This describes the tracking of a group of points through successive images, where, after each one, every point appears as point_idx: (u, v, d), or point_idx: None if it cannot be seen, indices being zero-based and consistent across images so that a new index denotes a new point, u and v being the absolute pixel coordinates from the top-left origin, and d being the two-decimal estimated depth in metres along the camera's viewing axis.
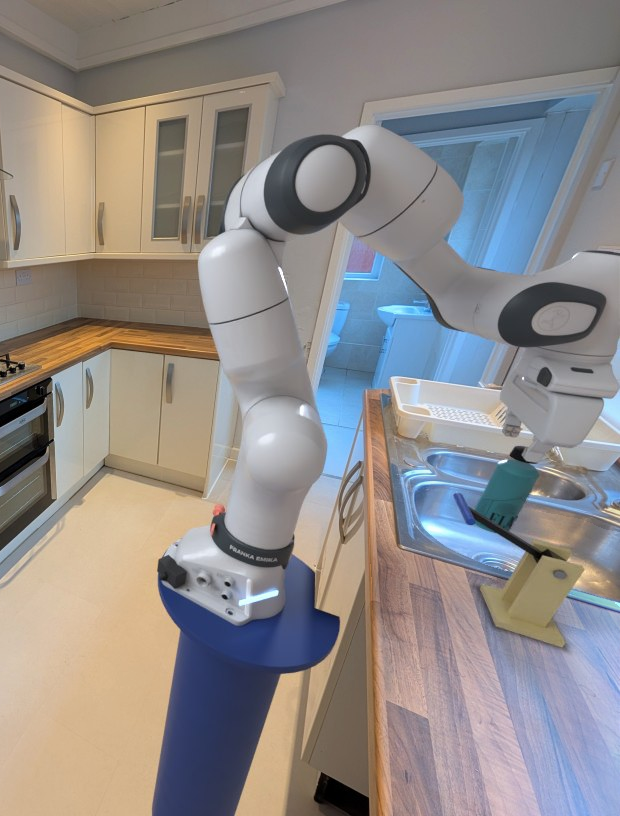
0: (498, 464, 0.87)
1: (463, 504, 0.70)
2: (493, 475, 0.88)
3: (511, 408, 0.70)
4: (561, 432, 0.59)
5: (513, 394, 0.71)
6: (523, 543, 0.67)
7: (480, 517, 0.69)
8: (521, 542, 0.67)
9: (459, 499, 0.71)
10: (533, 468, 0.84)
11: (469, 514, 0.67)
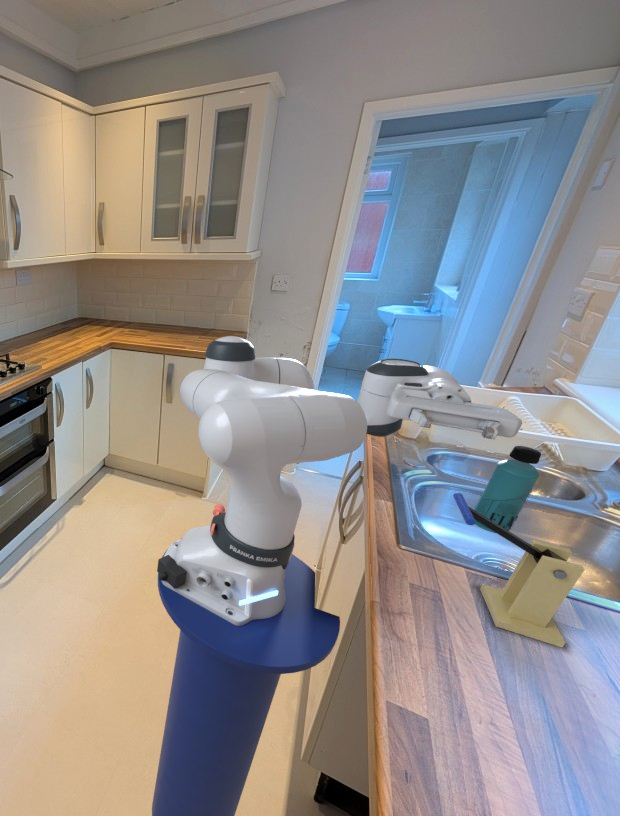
0: (498, 464, 0.87)
1: (463, 504, 0.70)
2: (493, 475, 0.88)
3: (468, 430, 0.82)
4: (388, 408, 0.89)
5: None
6: (523, 543, 0.67)
7: (480, 517, 0.69)
8: (521, 542, 0.67)
9: (459, 499, 0.71)
10: (533, 468, 0.84)
11: (469, 514, 0.67)
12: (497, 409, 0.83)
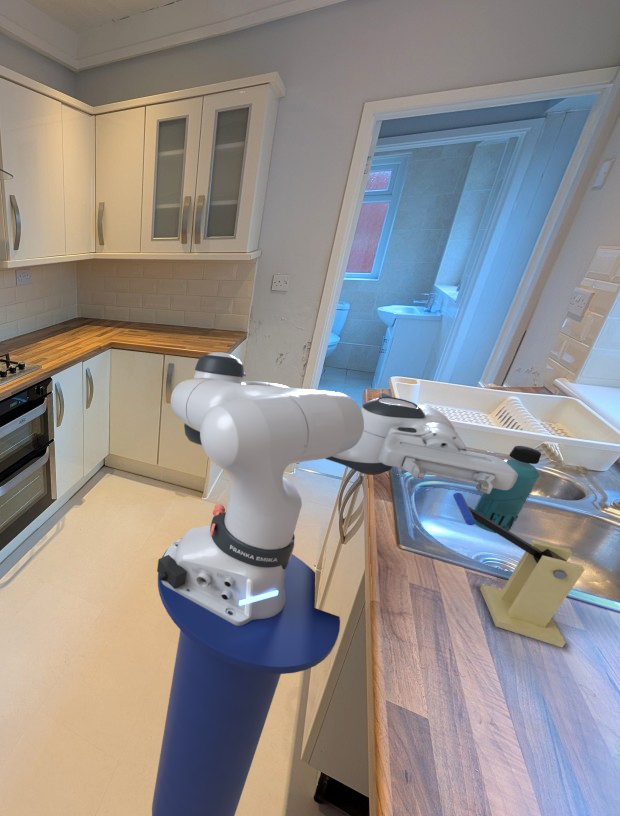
0: None
1: (463, 504, 0.70)
2: None
3: (462, 480, 0.80)
4: (380, 454, 0.87)
5: None
6: (523, 543, 0.67)
7: (480, 517, 0.69)
8: (521, 542, 0.67)
9: (459, 499, 0.71)
10: (533, 468, 0.84)
11: (469, 514, 0.67)
12: (492, 459, 0.80)
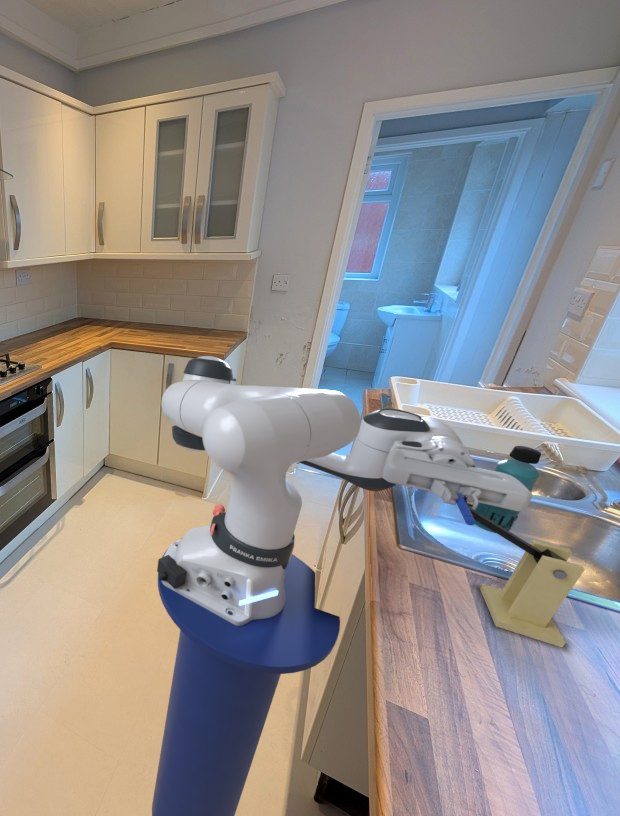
0: (498, 464, 0.87)
1: (463, 504, 0.70)
2: None
3: None
4: (384, 470, 0.81)
5: None
6: (523, 543, 0.67)
7: (480, 517, 0.69)
8: (521, 542, 0.67)
9: (459, 499, 0.71)
10: (533, 468, 0.84)
11: (469, 514, 0.67)
12: (504, 477, 0.75)
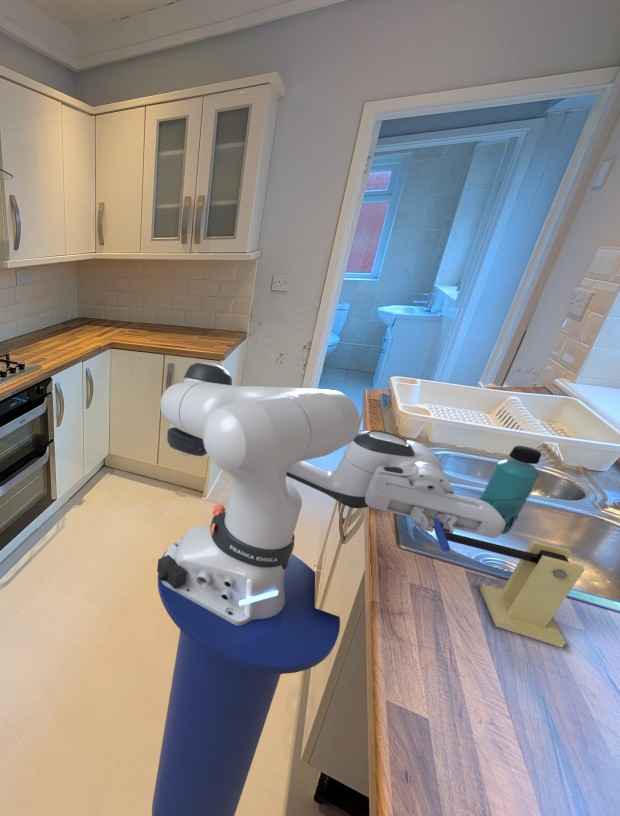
0: (498, 464, 0.87)
1: (437, 531, 0.73)
2: (493, 475, 0.88)
3: None
4: (366, 496, 0.84)
5: None
6: (512, 552, 0.68)
7: (458, 539, 0.71)
8: (509, 551, 0.69)
9: None
10: (533, 468, 0.84)
11: (442, 541, 0.71)
12: (480, 504, 0.78)
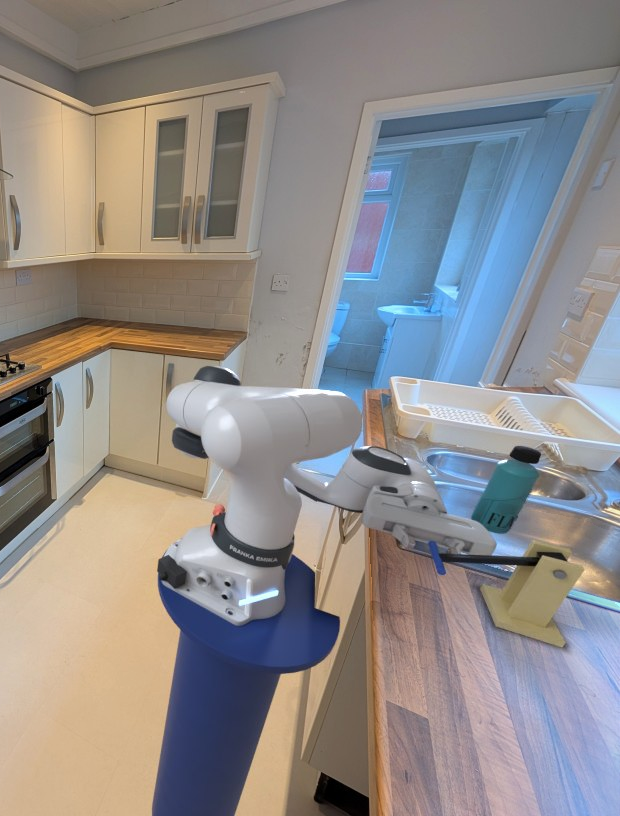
0: (498, 464, 0.87)
1: (433, 554, 0.75)
2: (493, 475, 0.88)
3: (443, 546, 0.80)
4: (362, 515, 0.87)
5: None
6: (509, 560, 0.69)
7: (454, 558, 0.73)
8: (506, 560, 0.69)
9: (430, 549, 0.76)
10: (533, 468, 0.84)
11: (437, 564, 0.72)
12: (472, 524, 0.81)
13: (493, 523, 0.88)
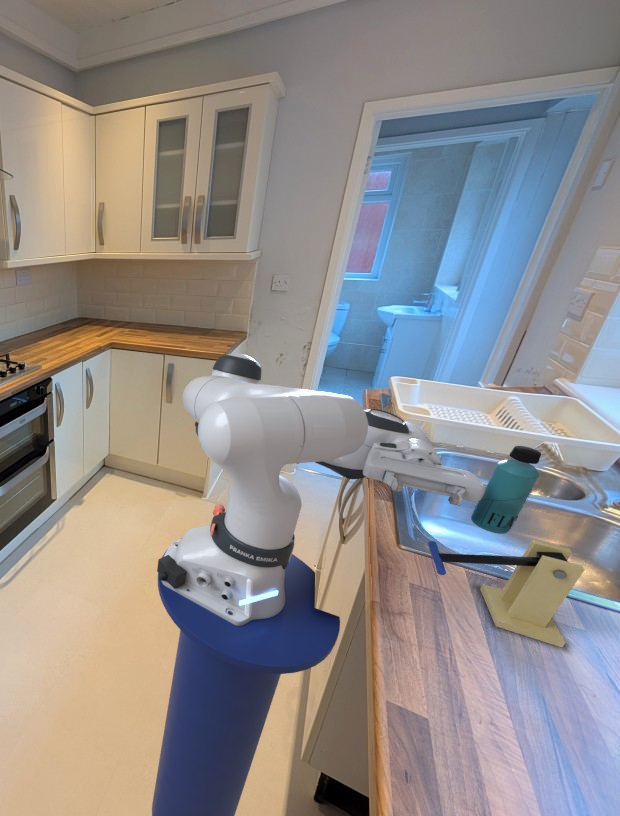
0: (498, 464, 0.87)
1: (433, 554, 0.75)
2: (493, 475, 0.88)
3: None
4: (364, 468, 0.95)
5: None
6: (509, 560, 0.69)
7: (454, 558, 0.73)
8: (506, 560, 0.69)
9: (430, 549, 0.76)
10: (533, 468, 0.84)
11: (437, 564, 0.72)
12: (464, 473, 0.88)
13: (493, 523, 0.88)
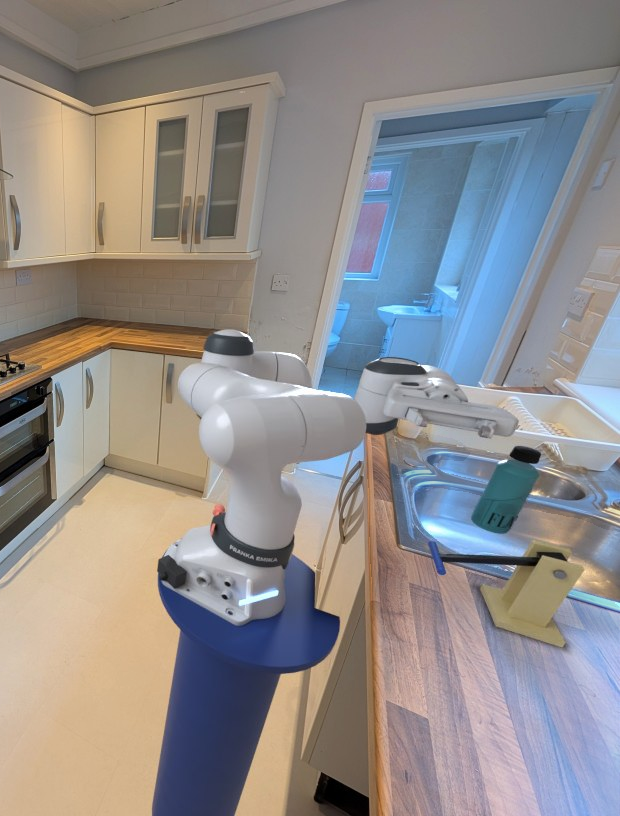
0: (498, 464, 0.87)
1: (433, 554, 0.75)
2: (493, 475, 0.88)
3: (465, 429, 0.82)
4: (384, 407, 0.89)
5: None
6: (509, 560, 0.69)
7: (454, 558, 0.73)
8: (506, 560, 0.69)
9: (430, 549, 0.76)
10: (533, 468, 0.84)
11: (437, 564, 0.72)
12: (494, 408, 0.82)
13: (493, 523, 0.88)
